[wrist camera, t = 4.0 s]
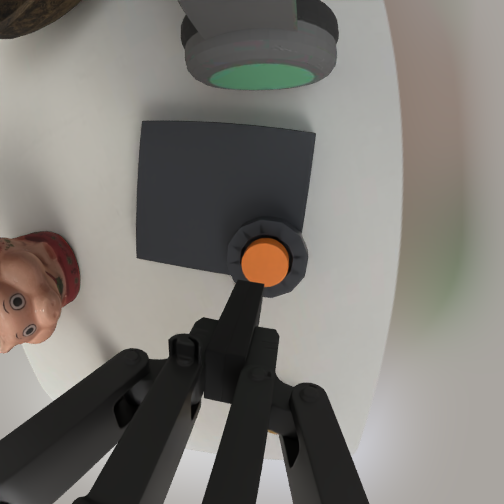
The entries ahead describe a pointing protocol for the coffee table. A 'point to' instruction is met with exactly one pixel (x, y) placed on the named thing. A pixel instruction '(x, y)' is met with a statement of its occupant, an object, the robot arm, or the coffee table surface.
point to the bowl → (30, 15)
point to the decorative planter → (34, 286)
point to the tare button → (265, 262)
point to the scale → (222, 195)
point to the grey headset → (259, 42)
